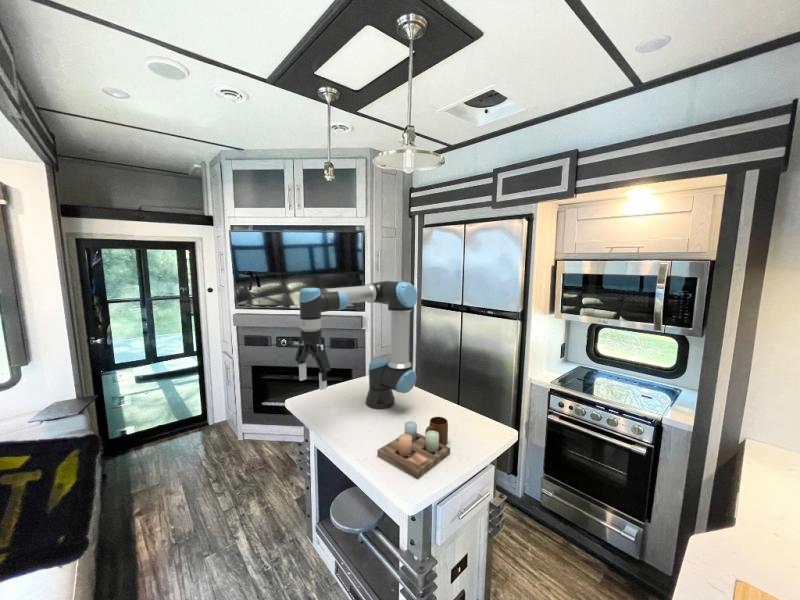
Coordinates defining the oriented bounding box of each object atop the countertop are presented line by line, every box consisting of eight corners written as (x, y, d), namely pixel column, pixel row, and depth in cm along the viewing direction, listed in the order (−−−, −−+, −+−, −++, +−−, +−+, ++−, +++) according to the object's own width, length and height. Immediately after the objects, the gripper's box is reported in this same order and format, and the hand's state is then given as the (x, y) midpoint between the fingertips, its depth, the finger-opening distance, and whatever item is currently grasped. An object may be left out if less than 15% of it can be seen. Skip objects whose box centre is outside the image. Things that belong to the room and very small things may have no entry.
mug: (433, 454, 128) (433, 431, 127) (418, 446, 133) (418, 424, 132) (451, 442, 136) (451, 420, 135) (436, 435, 142) (437, 414, 140)
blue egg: (409, 433, 138) (409, 420, 137) (419, 437, 135) (419, 424, 134) (401, 438, 134) (402, 424, 134) (411, 442, 131) (411, 428, 130)
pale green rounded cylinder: (430, 443, 131) (431, 429, 130) (441, 448, 127) (441, 433, 127) (423, 448, 127) (423, 434, 126) (433, 453, 124) (433, 438, 123)
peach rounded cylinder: (404, 447, 128) (404, 432, 127) (414, 452, 125) (414, 437, 124) (395, 452, 124) (396, 437, 124) (405, 457, 121) (406, 442, 120)
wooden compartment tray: (410, 435, 141) (410, 428, 141) (450, 453, 128) (450, 446, 128) (377, 455, 127) (377, 448, 126) (417, 479, 113) (417, 470, 113)
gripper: (284, 326, 128) (286, 378, 131) (321, 336, 111) (323, 396, 114) (301, 323, 134) (303, 373, 136) (339, 332, 117) (340, 389, 120)
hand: (312, 384), depth 125 cm, fingers open, 13 cm apart
